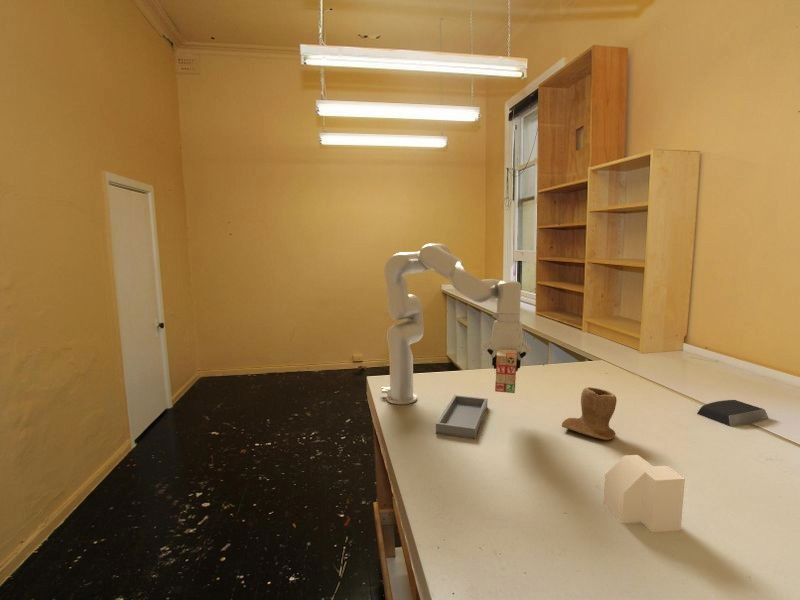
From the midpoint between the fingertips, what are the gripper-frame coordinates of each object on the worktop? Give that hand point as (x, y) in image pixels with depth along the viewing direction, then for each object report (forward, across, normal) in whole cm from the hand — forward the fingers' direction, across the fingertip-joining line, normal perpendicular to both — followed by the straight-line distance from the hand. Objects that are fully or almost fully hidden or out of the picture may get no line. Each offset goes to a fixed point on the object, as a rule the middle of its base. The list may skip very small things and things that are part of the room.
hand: (505, 368), depth 142 cm
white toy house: (+20, +35, -40) cm, 57 cm away
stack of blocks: (+5, 0, 0) cm, 5 cm away
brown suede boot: (+20, +28, +3) cm, 34 cm away
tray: (+20, -14, 0) cm, 25 cm away
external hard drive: (+20, +77, +33) cm, 86 cm away
